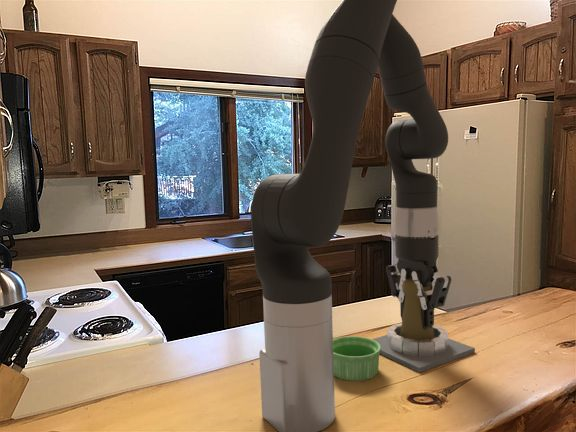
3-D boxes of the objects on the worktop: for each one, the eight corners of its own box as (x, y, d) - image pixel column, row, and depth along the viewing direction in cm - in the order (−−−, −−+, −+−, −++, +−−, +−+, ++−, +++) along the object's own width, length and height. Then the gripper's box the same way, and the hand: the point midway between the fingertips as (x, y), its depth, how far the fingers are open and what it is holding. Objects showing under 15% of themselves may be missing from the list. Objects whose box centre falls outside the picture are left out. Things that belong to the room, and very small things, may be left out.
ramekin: (326, 383, 74) (325, 356, 73) (327, 359, 83) (326, 335, 82) (383, 384, 73) (383, 357, 72) (378, 360, 82) (378, 336, 81)
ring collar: (418, 361, 78) (418, 347, 78) (376, 342, 87) (376, 329, 87) (459, 347, 84) (459, 333, 83) (416, 330, 92) (415, 318, 92)
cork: (430, 330, 88) (430, 273, 87) (437, 342, 82) (437, 281, 81) (397, 330, 88) (397, 274, 87) (402, 342, 82) (402, 282, 81)
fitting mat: (419, 372, 76) (419, 368, 76) (363, 346, 88) (362, 341, 88) (474, 352, 83) (474, 347, 83) (415, 330, 95) (415, 326, 95)
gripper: (373, 230, 87) (374, 319, 89) (433, 239, 75) (433, 341, 77) (402, 226, 91) (403, 311, 93) (463, 234, 79) (463, 331, 81)
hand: (416, 324), depth 85 cm, fingers closed on cork, 4 cm apart
